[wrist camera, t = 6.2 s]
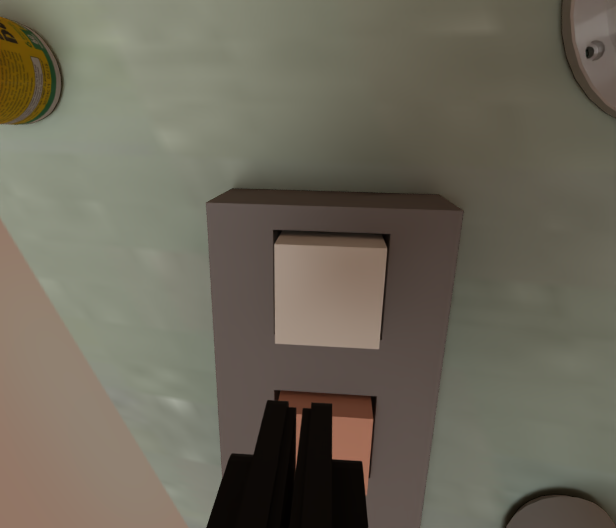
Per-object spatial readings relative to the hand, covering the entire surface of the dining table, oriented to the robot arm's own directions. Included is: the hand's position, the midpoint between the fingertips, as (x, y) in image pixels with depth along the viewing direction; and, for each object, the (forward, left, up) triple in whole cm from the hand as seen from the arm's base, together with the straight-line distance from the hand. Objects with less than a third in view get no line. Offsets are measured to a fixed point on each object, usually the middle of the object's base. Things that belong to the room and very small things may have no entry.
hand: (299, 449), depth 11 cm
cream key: (0, 0, -13) cm, 13 cm away
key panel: (+9, 0, -16) cm, 18 cm away
